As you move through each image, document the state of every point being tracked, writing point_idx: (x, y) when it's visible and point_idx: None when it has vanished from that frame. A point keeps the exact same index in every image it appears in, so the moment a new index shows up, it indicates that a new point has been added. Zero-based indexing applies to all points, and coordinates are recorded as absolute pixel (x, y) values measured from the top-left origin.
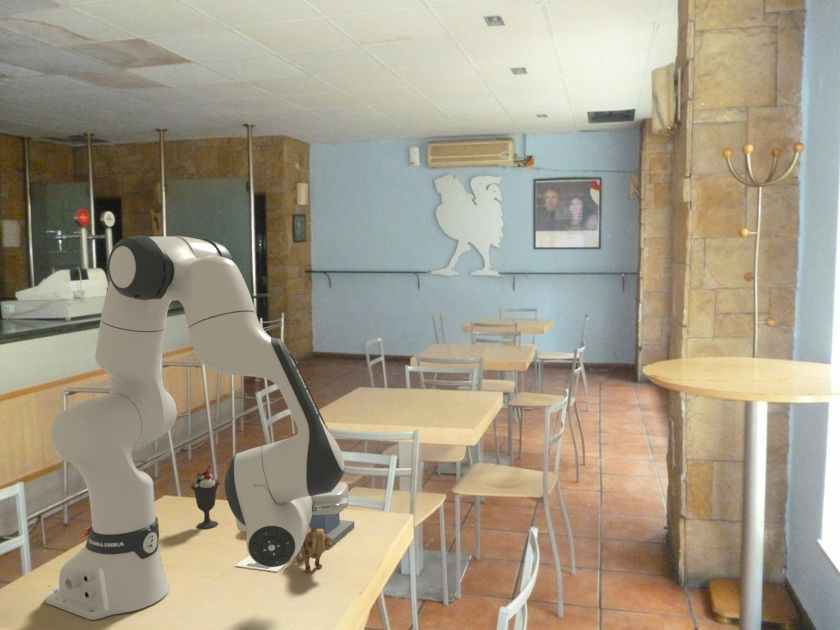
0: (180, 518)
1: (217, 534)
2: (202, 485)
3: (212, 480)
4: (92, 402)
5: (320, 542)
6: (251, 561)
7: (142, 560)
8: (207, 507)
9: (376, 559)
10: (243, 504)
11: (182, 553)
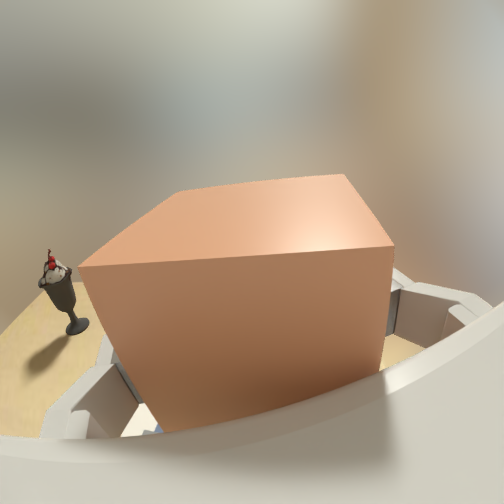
0: (53, 316)
1: (88, 345)
2: (48, 280)
3: (59, 270)
4: None
5: None
6: (146, 422)
7: None
8: (66, 307)
9: (381, 369)
10: None
11: (46, 393)
